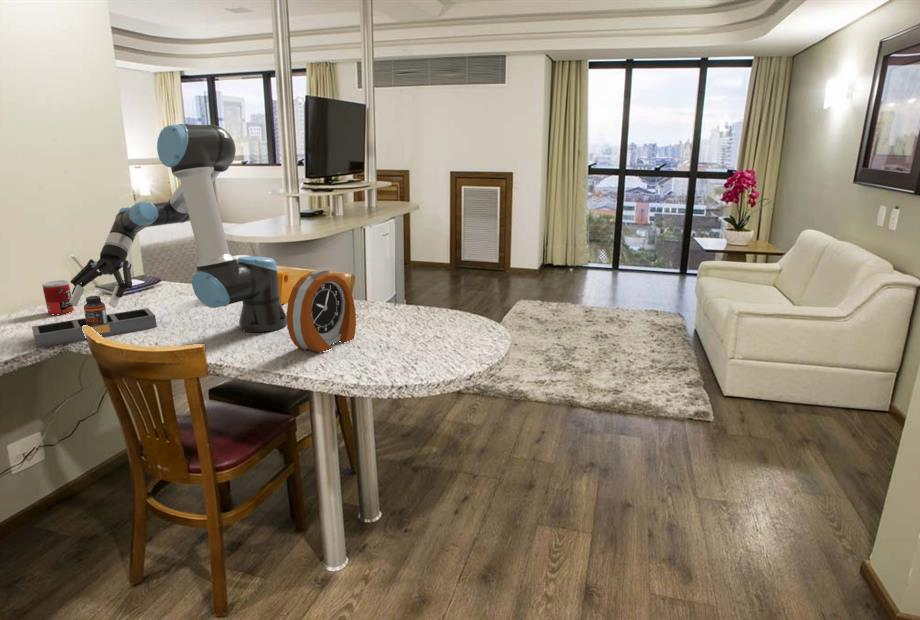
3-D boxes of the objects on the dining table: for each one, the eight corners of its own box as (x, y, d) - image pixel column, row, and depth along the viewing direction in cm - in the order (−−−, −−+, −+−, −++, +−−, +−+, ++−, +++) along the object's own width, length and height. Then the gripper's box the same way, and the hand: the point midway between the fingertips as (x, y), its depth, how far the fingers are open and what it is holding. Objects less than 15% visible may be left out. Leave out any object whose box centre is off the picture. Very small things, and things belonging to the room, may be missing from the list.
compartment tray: (157, 327, 197) (155, 315, 196) (36, 348, 178) (33, 335, 177) (149, 319, 206) (148, 308, 205) (34, 338, 187) (31, 326, 186)
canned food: (65, 315, 210) (59, 285, 207) (43, 315, 210) (36, 285, 207) (79, 309, 218) (73, 280, 215) (57, 309, 218) (51, 280, 215)
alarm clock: (314, 357, 170) (307, 280, 164) (288, 352, 175) (281, 276, 168) (362, 335, 189) (358, 265, 182) (338, 330, 193) (333, 262, 187)
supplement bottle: (85, 334, 188) (79, 300, 185) (90, 329, 194) (84, 295, 191) (106, 332, 190) (100, 298, 187) (111, 327, 196) (105, 294, 193)
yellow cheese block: (277, 298, 232) (274, 267, 229) (294, 298, 231) (291, 268, 227) (263, 305, 222) (260, 274, 218) (281, 306, 221) (278, 274, 217)
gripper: (156, 256, 202) (135, 311, 192) (89, 254, 205) (64, 309, 195) (144, 243, 195) (121, 300, 185) (74, 242, 198) (48, 298, 188)
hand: (92, 305), depth 190 cm, fingers open, 13 cm apart
